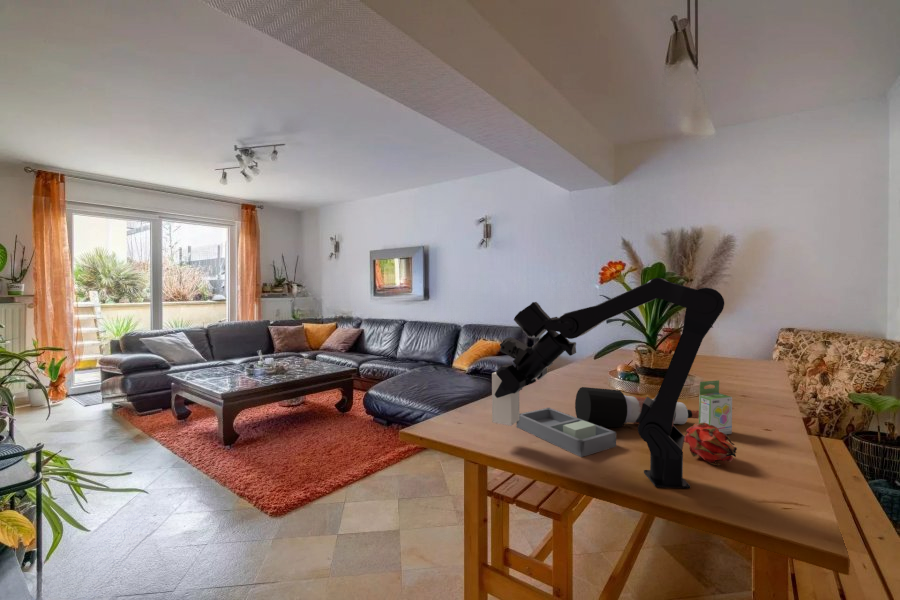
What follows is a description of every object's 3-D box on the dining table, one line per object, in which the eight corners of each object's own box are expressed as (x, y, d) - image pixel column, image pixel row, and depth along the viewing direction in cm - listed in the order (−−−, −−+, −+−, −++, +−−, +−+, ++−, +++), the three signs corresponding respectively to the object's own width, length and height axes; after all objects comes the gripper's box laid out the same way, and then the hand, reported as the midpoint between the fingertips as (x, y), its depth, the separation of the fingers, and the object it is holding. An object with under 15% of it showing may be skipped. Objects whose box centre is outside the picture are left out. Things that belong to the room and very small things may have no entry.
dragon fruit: (688, 453, 97) (732, 484, 86) (666, 436, 95) (707, 466, 84) (710, 425, 97) (756, 452, 86) (688, 408, 95) (733, 433, 83)
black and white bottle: (701, 441, 113) (717, 414, 108) (583, 433, 110) (594, 405, 105) (681, 414, 122) (696, 388, 117) (572, 406, 119) (582, 379, 114)
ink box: (711, 437, 104) (712, 385, 103) (697, 431, 108) (698, 381, 107) (732, 434, 106) (733, 383, 105) (718, 429, 109) (719, 379, 109)
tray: (616, 446, 98) (616, 428, 98) (580, 457, 92) (581, 437, 92) (548, 419, 118) (548, 404, 118) (516, 426, 112) (516, 410, 112)
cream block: (519, 419, 100) (519, 371, 100) (511, 426, 96) (510, 375, 96) (501, 416, 103) (500, 369, 103) (492, 422, 99) (491, 373, 98)
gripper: (534, 323, 105) (496, 362, 111) (504, 330, 89) (461, 375, 95) (565, 356, 101) (523, 394, 107) (538, 370, 85) (491, 414, 91)
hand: (500, 393), depth 100 cm, fingers closed on cream block, 5 cm apart
